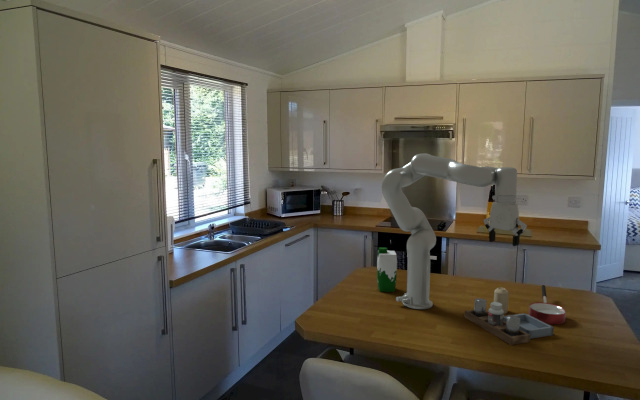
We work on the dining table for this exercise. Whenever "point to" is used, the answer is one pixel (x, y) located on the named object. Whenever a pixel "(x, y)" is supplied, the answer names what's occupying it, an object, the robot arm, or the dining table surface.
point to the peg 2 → (512, 325)
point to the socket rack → (497, 329)
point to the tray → (533, 326)
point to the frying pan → (547, 311)
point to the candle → (502, 298)
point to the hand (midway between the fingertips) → (503, 243)
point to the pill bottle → (495, 314)
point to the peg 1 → (480, 307)
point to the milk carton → (386, 270)
